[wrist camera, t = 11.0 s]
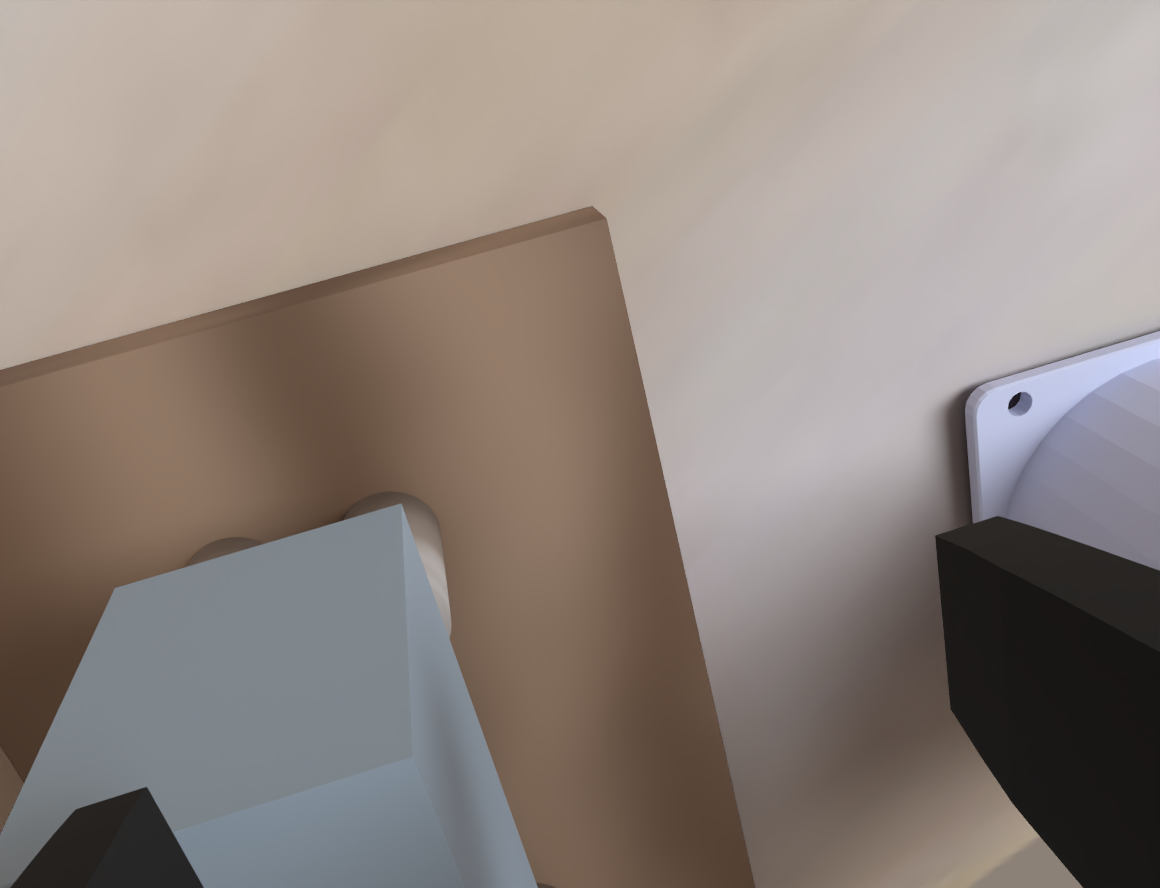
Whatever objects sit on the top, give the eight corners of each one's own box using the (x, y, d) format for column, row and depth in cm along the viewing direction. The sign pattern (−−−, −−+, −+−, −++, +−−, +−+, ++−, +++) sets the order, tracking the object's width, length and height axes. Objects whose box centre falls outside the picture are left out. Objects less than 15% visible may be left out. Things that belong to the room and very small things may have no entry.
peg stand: (592, 205, 18) (651, 257, 14) (756, 932, 26) (823, 1091, 22) (-154, 412, 17) (-313, 529, 13) (259, 1099, 25) (238, 1297, 21)
